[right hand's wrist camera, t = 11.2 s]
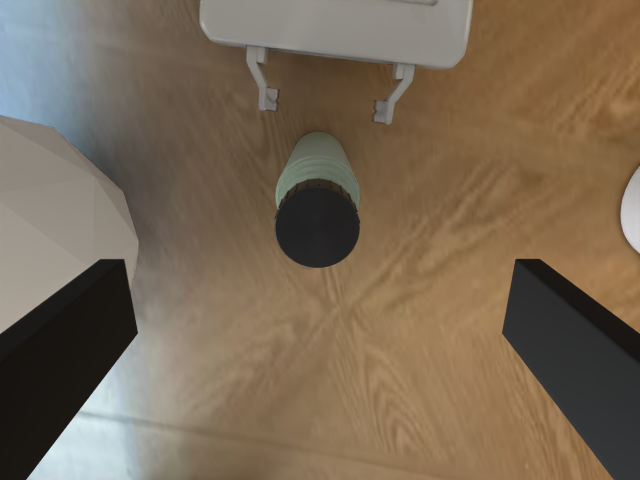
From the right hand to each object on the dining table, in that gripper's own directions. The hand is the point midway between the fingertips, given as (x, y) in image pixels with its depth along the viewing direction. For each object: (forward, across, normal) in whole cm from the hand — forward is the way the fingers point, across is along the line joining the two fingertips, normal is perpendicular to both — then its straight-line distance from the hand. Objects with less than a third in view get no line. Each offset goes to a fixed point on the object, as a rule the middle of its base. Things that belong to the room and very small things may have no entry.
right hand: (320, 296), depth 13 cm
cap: (+7, 0, 0) cm, 7 cm away
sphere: (+30, -28, -8) cm, 41 cm away
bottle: (+30, 0, 0) cm, 30 cm away
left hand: (+23, 0, +4) cm, 24 cm away
